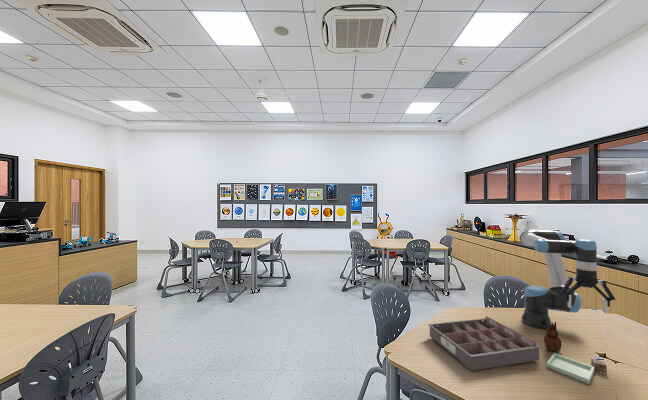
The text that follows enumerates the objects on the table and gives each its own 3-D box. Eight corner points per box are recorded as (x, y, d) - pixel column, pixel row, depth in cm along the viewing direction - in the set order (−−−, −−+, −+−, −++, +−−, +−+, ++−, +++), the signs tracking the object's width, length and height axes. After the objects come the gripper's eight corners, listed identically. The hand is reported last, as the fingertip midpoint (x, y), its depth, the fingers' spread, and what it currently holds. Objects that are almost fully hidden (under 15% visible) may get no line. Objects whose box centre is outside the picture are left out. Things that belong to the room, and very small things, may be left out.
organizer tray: (427, 338, 145) (427, 320, 145) (486, 331, 153) (486, 314, 153) (470, 374, 114) (470, 352, 114) (542, 363, 122) (541, 342, 122)
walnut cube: (594, 371, 116) (594, 362, 116) (591, 366, 120) (591, 358, 120) (606, 374, 114) (606, 365, 114) (603, 369, 117) (603, 361, 118)
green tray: (546, 367, 119) (546, 363, 119) (554, 356, 127) (554, 352, 127) (589, 384, 108) (589, 379, 108) (594, 371, 116) (594, 367, 116)
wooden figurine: (557, 348, 135) (557, 320, 135) (563, 354, 129) (563, 325, 129) (541, 346, 137) (541, 318, 137) (547, 352, 131) (547, 322, 132)
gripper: (557, 267, 136) (557, 307, 135) (624, 274, 124) (625, 317, 123) (552, 265, 142) (553, 303, 142) (616, 270, 130) (617, 312, 130)
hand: (586, 310), depth 133 cm, fingers open, 13 cm apart
